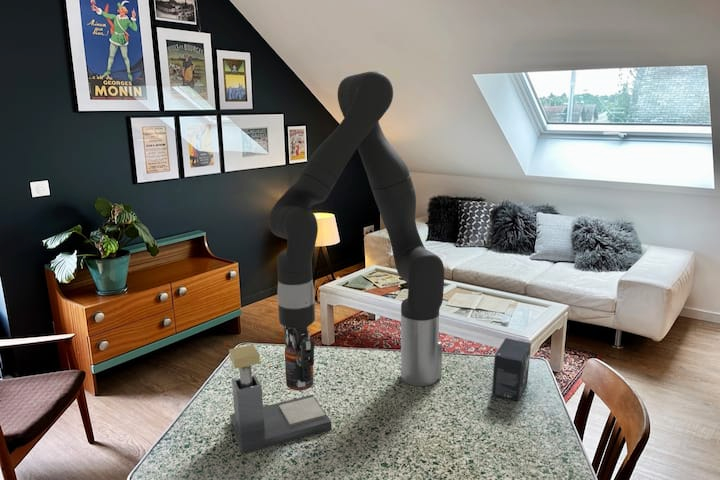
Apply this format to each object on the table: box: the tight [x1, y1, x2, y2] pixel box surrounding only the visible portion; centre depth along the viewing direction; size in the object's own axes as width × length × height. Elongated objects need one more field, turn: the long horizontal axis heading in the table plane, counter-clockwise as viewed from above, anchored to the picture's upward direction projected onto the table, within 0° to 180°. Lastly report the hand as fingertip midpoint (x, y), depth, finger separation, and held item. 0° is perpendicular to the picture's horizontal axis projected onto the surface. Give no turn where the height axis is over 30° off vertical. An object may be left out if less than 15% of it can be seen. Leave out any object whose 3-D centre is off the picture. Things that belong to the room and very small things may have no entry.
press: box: [229, 374, 332, 455], centre depth 117 cm, size 19×12×12 cm, turn 114°
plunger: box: [228, 344, 261, 389], centre depth 112 cm, size 5×5×12 cm
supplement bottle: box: [284, 336, 315, 392], centre depth 117 cm, size 6×6×11 cm
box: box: [491, 337, 532, 402], centre depth 130 cm, size 11×7×10 cm, turn 152°
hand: (299, 373), depth 117 cm, fingers closed on supplement bottle, 6 cm apart
